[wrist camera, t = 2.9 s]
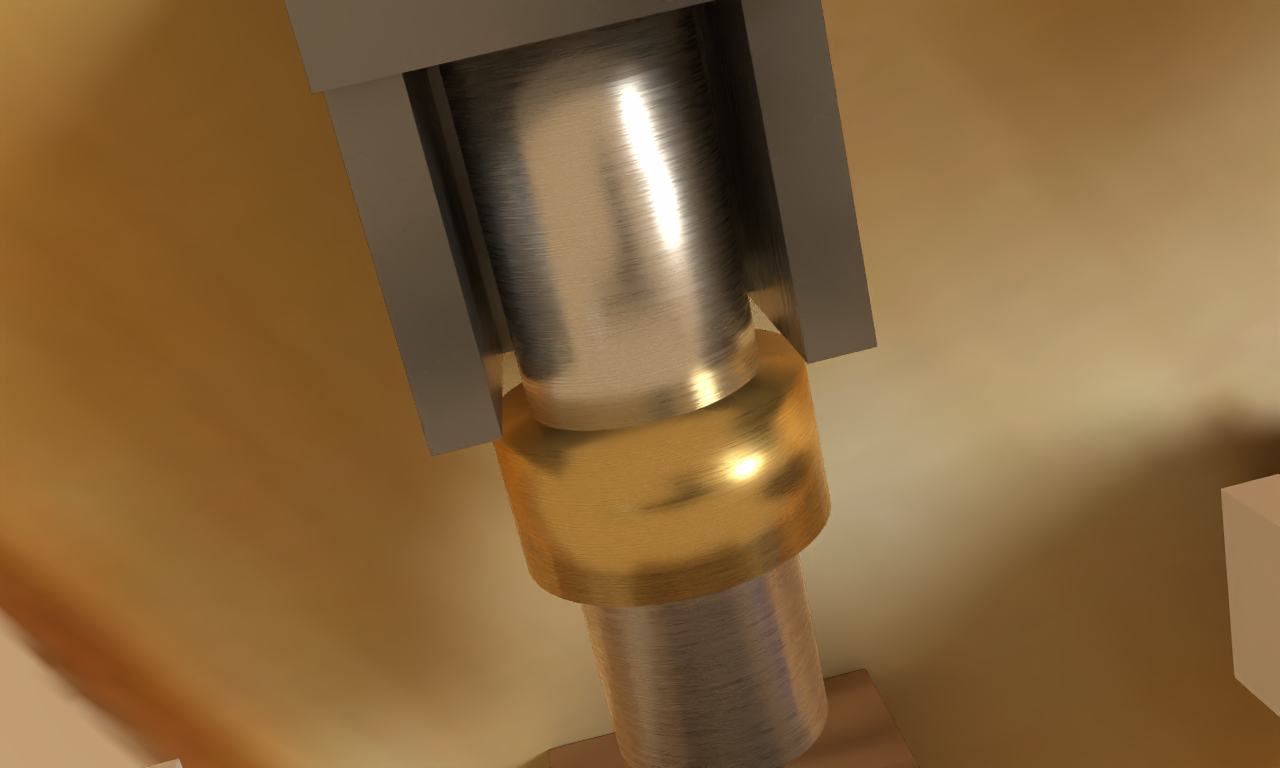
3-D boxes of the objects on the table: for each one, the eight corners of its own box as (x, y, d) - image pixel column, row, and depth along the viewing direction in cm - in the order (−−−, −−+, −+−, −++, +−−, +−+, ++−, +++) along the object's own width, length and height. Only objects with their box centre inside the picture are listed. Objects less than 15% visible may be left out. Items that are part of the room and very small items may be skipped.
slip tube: (327, -218, 22) (264, -301, 16) (650, -291, 22) (704, -397, 16) (572, 678, 27) (591, 852, 22) (824, 613, 28) (908, 769, 22)
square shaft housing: (317, -174, 26) (194, -299, 15) (664, -252, 26) (770, -426, 16) (453, 313, 29) (427, 478, 19) (757, 240, 29) (896, 363, 19)
